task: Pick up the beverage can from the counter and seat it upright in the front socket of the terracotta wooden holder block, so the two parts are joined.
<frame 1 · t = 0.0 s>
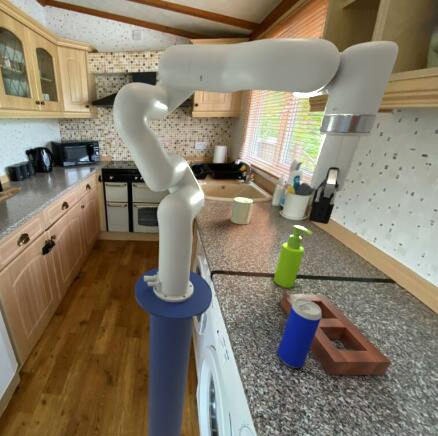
hand: (318, 214, 50), 31 cm above the worktop, tool pointing down, fingers open, 9 cm apart
holder: (323, 334, 60), on the worktop
can: (239, 221, 126), on the worktop
beverage can: (289, 359, 54), on the worktop
soap dispenser: (284, 283, 79), on the worktop
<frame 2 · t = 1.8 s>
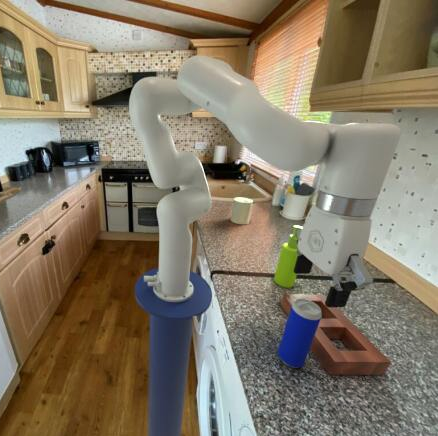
hand: (316, 288, 46), 20 cm above the worktop, tool pointing down, fingers open, 9 cm apart
nothing on the worktop moved.
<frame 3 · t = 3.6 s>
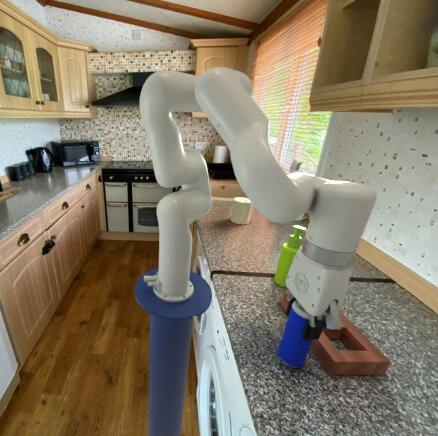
hand: (301, 325, 50), 10 cm above the worktop, tool pointing down, fingers closed on beverage can, 5 cm apart
beverage can: (289, 359, 54), on the worktop, touching gripper
everything else where it was.
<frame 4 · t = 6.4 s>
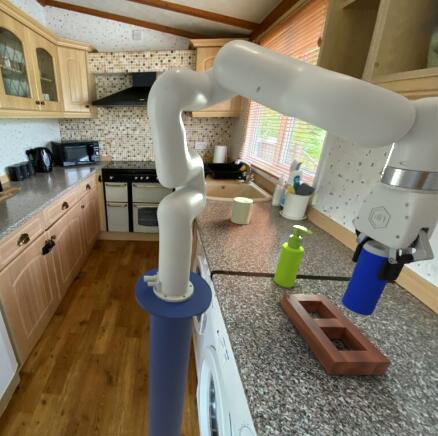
hand: (372, 269, 47), 23 cm above the worktop, tool pointing down, fingers closed on beverage can, 5 cm apart
beverage can: (355, 309, 51), point 13 cm above the worktop, touching gripper
everything else where it was.
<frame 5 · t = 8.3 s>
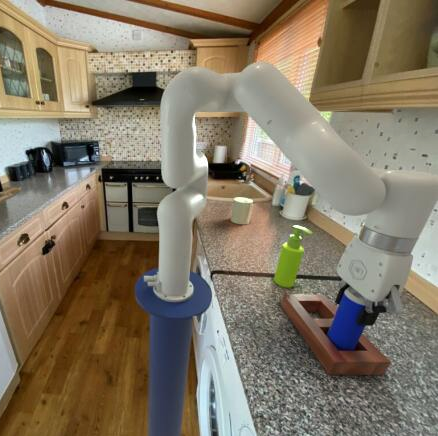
hand: (352, 312, 52), 11 cm above the worktop, tool pointing down, fingers closed on beverage can, 5 cm apart
beverage can: (338, 346, 56), point 1 cm above the worktop, touching gripper
everything else where it was.
when the fingers open (10 cm above the worktop, at t = 9.2 s): beverage can stays where it is, resting in holder.
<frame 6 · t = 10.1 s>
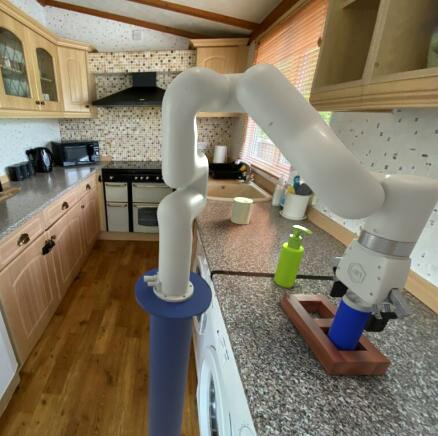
hand: (352, 312, 52), 12 cm above the worktop, tool pointing down, fingers open, 9 cm apart
beverage can: (336, 351, 56), resting in holder
everything else where it was.
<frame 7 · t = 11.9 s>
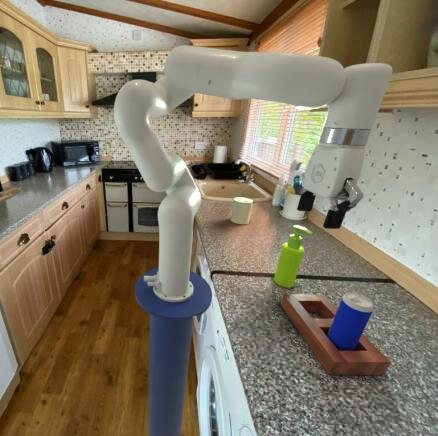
hand: (316, 218, 54), 29 cm above the worktop, tool pointing down, fingers open, 9 cm apart
nothing on the worktop moved.
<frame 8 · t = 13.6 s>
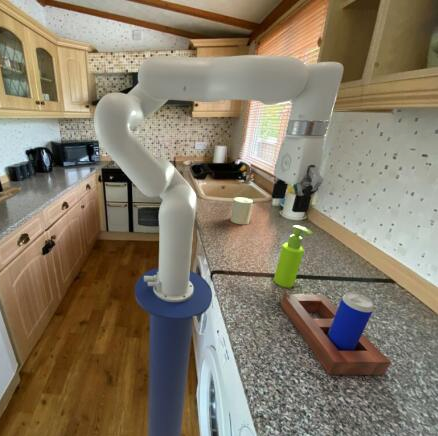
hand: (287, 204, 59), 30 cm above the worktop, tool pointing down, fingers open, 9 cm apart
nothing on the worktop moved.
at the end: beverage can 0.0 cm from the target spot in the holder, point 0.0 cm above the holder's base; beverage can tilted 0°; the gripper is holding nothing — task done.
